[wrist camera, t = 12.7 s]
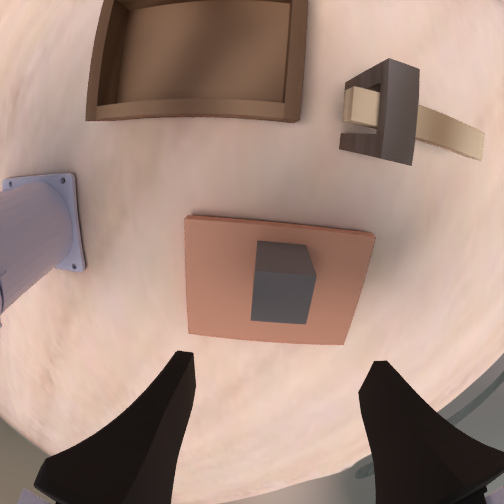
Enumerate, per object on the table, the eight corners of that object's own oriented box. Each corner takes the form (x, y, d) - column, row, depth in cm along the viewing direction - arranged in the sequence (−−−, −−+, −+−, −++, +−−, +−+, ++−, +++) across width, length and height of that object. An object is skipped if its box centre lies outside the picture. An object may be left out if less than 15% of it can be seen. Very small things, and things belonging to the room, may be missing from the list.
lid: (192, 321, 22) (175, 371, 17) (191, 211, 18) (163, 243, 13) (339, 332, 22) (354, 382, 17) (367, 228, 18) (401, 264, 13)
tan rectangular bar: (342, 121, 12) (350, 120, 10) (345, 90, 11) (354, 86, 10) (466, 157, 12) (481, 160, 10) (469, 131, 11) (484, 133, 10)
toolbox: (109, 138, 16) (45, 146, 10) (125, 7, 12) (76, -27, 6) (361, 153, 16) (411, 165, 10) (369, 14, 12) (411, -26, 6)
